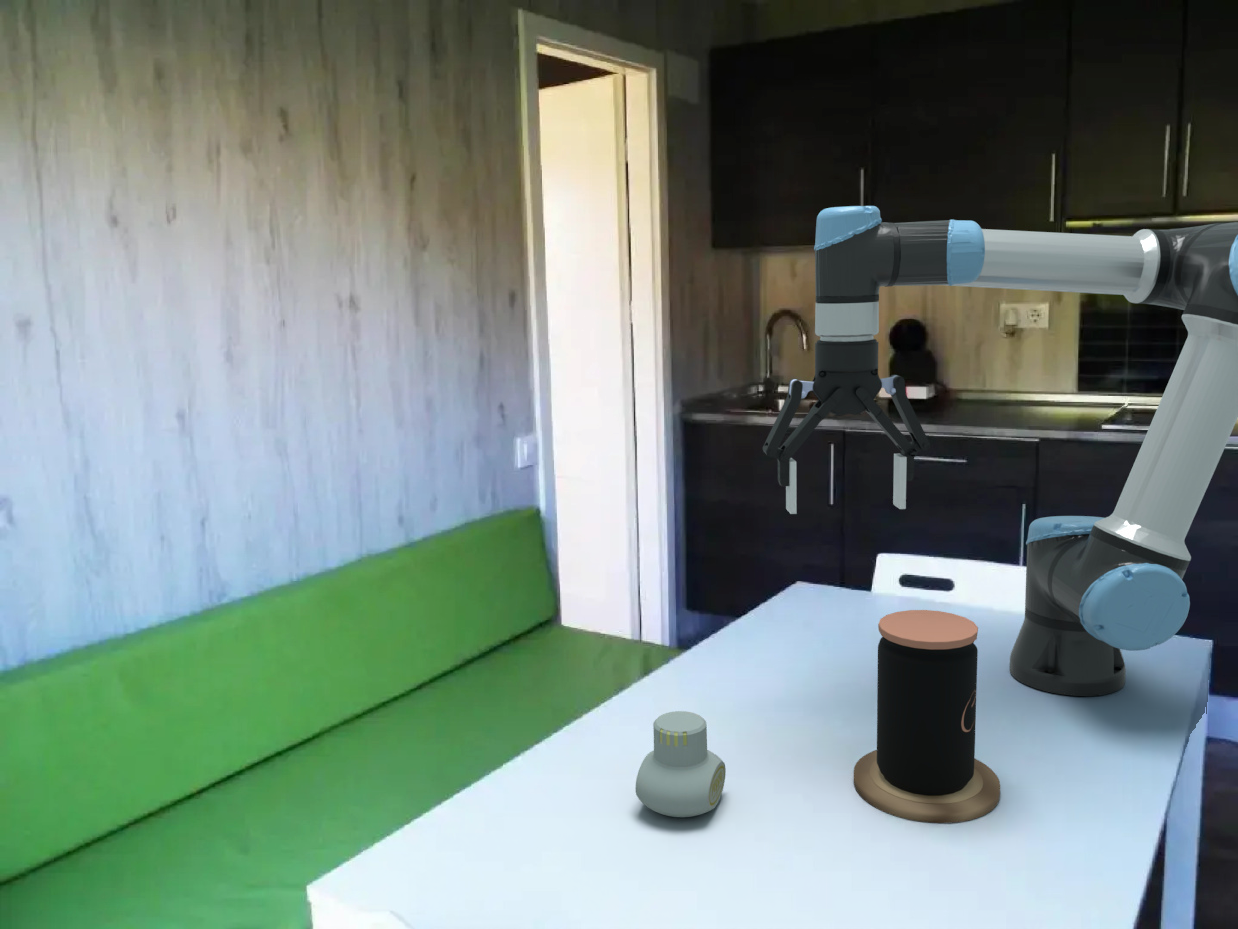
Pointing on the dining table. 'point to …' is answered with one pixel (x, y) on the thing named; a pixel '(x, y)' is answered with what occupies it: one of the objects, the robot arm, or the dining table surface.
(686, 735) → the air freshener
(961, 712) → the coffee jar
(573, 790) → the dining table surface
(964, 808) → the trivet
